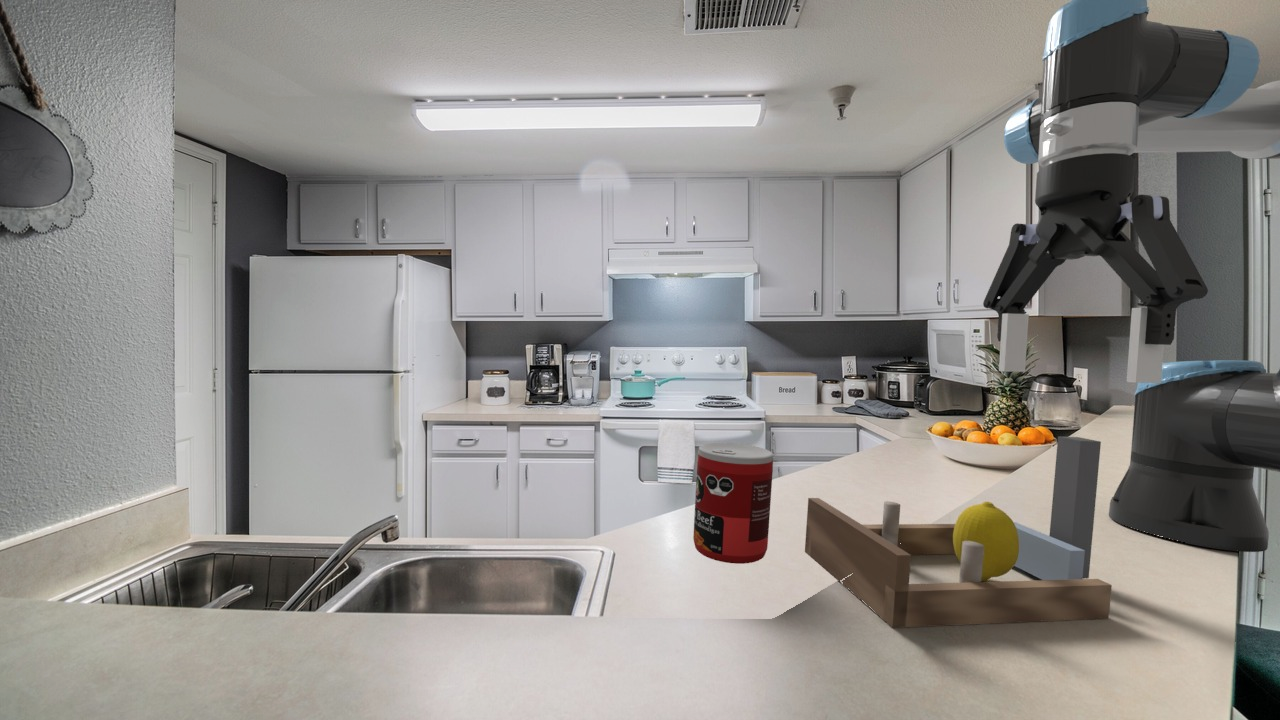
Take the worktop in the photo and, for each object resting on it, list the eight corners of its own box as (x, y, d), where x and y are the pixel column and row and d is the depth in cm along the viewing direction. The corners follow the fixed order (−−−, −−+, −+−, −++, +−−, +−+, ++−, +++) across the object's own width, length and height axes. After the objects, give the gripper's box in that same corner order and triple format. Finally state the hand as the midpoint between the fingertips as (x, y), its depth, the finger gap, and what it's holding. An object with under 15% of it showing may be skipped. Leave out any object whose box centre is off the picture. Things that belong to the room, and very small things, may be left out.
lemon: (995, 571, 56) (1001, 496, 55) (1028, 596, 50) (1035, 513, 50) (940, 566, 56) (945, 491, 56) (966, 590, 51) (973, 508, 50)
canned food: (686, 536, 61) (691, 441, 61) (753, 537, 62) (759, 443, 62) (701, 565, 54) (707, 456, 53) (777, 565, 54) (784, 459, 54)
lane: (973, 549, 62) (977, 498, 62) (1108, 618, 47) (1114, 551, 47) (804, 551, 58) (808, 497, 58) (892, 627, 43) (897, 555, 43)
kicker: (1043, 557, 59) (1054, 432, 58) (1115, 590, 51) (1128, 447, 51) (1000, 558, 58) (1010, 431, 57) (1066, 592, 50) (1079, 446, 50)
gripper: (956, 192, 64) (945, 367, 65) (1207, 105, 40) (1184, 388, 41) (1009, 197, 66) (999, 368, 67) (1285, 115, 41) (1262, 389, 42)
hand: (1069, 376), depth 54 cm, fingers open, 13 cm apart
